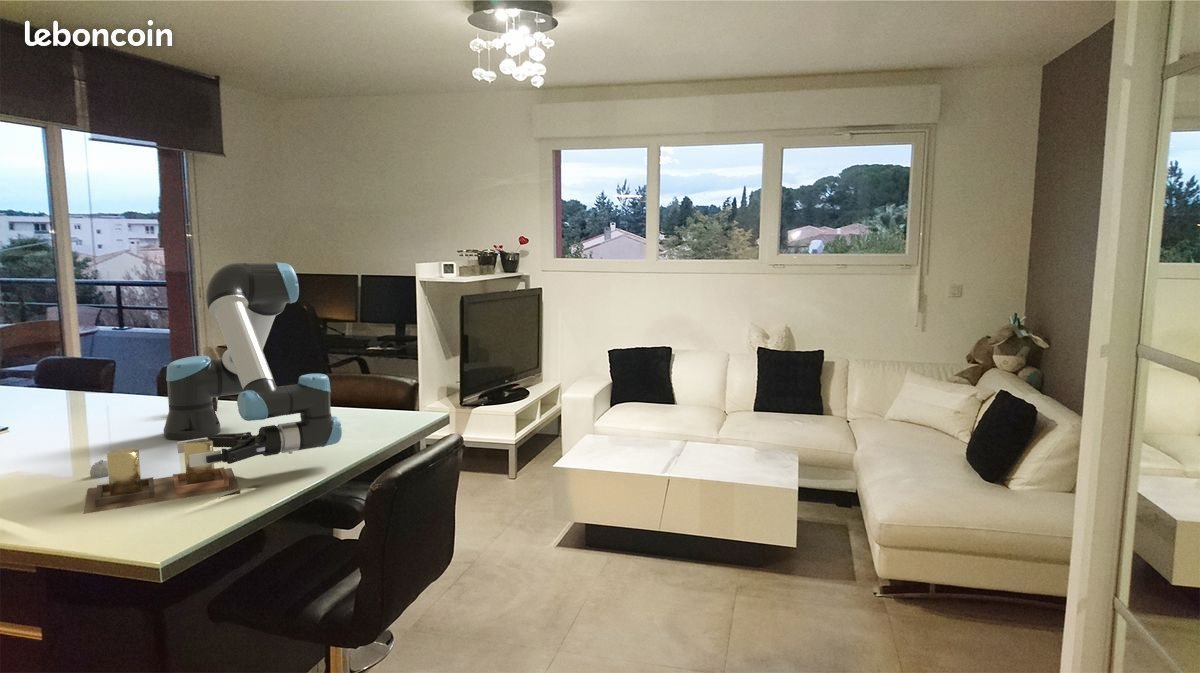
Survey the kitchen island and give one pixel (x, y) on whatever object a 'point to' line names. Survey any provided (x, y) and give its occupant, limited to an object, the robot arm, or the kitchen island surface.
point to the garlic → (99, 469)
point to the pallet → (160, 491)
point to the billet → (124, 471)
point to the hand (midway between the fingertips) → (183, 454)
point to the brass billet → (203, 471)
